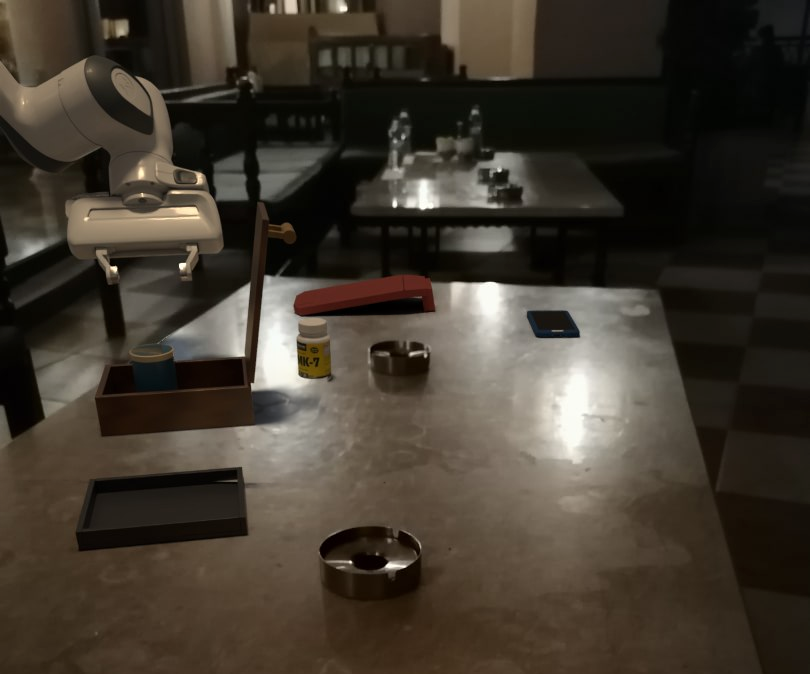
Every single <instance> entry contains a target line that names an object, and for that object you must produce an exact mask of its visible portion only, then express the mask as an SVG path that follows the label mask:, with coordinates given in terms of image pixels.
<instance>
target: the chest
mask: <svg viewBox="0 0 810 674" xmlns="http://www.w3.org/2000/svg"><path fill="white" fill-rule="evenodd" d="M174 361H175V368H176V376H177V383H178V390H169V391H155V392H140V393H137V392H136V386H135V380H134V373H133V367H132V362H131V363H115V364H105V365H104V368H103V371H102V373H101V376H100V380H99V382H98V386H97V389H96V393H95V396H94V402H95V408H96V413H97V418H98V424H99V429H100V430H99V431H100V435H101V437H103V438H104V437H114V436H116V437H117V436H128V435H129V436H130V435H142V434H143V435H145V434H154V433H155V434H156V433H169V432H182V431H197V430H210V429H222V428H236V427H250V426H255V424H256V423H255V411H254V401H253V390H252V383H248V380H247V371H246V362H245V355H244V356H227V357H211V358H209V357H208V358H195V359H179V360H174Z"/></svg>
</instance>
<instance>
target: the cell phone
mask: <svg viewBox="0 0 810 674" xmlns="http://www.w3.org/2000/svg"><path fill="white" fill-rule="evenodd" d="M526 317H527V319H528V322H529V324H530V326H531V329H532V331H533V333H534V335H535V337H542V338H545V337H547V338H549V337H550V338H552V337H554V338H555V337H556V338H557V337H560V338H561V337H580V334H581V331H580V328H579V327H578V325H577V323H576V322H575V320H574V318H573V317H572V315H571V314H570V312H569V310H566V309H565V310H562V309H561V310H560V309H558V310H557V309H556V310H554V309H553V310H547V309H544V310H542V309H541V310H537V309H536V310H535V309H534V310H533V309H532V310H527V311H526Z"/></svg>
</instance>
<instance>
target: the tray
mask: <svg viewBox="0 0 810 674" xmlns="http://www.w3.org/2000/svg"><path fill="white" fill-rule="evenodd" d="M246 507H247V506H246V494H245V482H244V471H243V466H235V467H234V466H231V467H221V468H209V469H197V470H195V469H194V470H185V471H171V472H160V473H159V472H158V473H147V474H134V475H124V476H123V475H122V476H111V477H109V476H108V477H97V478H89V480H88V485H87V487H86V492H85V495H84V498H83V503H82V506H81V510H80V513H79V517H78V521H77V524H76V528H75V539H76V542H77V547H78V550H79V551H82V550H84V551H85V550H92V549H93V550H94V549H103V548H114V547H115V548H117V547H126V546H136V545H137V546H138V545H147V544H157V543H158V544H159V543H167V542H168V543H169V542H178V541H179V542H180V541H190V540H200V539H212V538H222V537H234V536H244V535H248V521H247V508H246Z"/></svg>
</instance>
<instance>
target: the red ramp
mask: <svg viewBox="0 0 810 674" xmlns="http://www.w3.org/2000/svg"><path fill="white" fill-rule="evenodd" d="M432 285H433V284H432V281H431V277H427V278H426V276H425V275H415V274H397V275H391V276H386V277H379V278H374V279H367V280H362V281H356V282H350V283H345V284H339V285H333V286H326V287H321V288H315V289H309V290H304V291H302V292H300V293H298V294H296V295H295V299H294V302H293V305H292V306H293V312H294V314H296V315H299V316H306V315H313V314H317V313H318V314H319V313H324V312H329V311H331V312H332V311H337V310H341V309H342V310H343V309H348V308H354V307H360V306H366V305H371V304H377V303H382V302H383V303H384V302H389V301H396V300H400V299H408V298H420V297H421V300H422V306H423V311H424V313H426V312H431V311H436V305H435V297H434V291H433V286H432Z"/></svg>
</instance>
